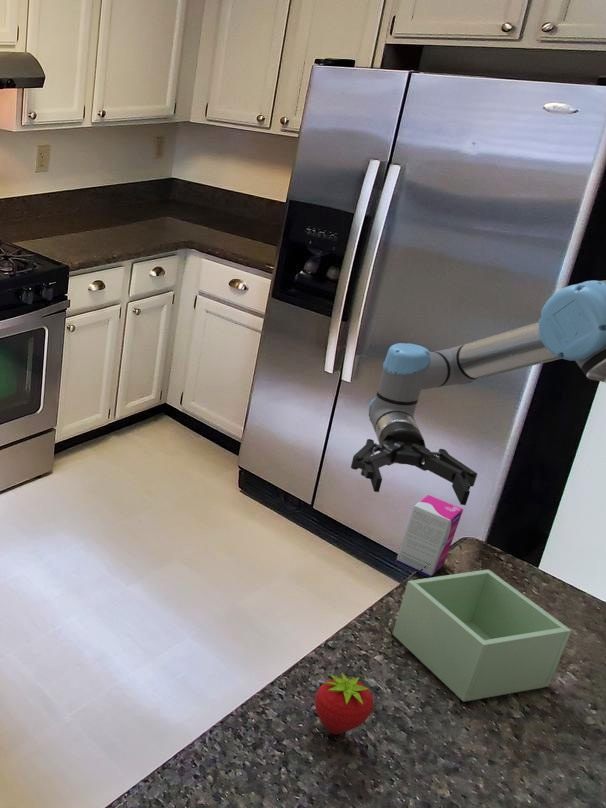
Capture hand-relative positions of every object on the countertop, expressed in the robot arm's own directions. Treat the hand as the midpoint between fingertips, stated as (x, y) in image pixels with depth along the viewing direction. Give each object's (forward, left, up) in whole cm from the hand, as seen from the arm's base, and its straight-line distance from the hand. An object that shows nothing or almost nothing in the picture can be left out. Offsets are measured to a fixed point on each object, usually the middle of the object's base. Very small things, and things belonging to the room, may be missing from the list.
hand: (421, 491), depth 139 cm
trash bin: (+15, +29, -9) cm, 34 cm away
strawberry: (+42, +37, -9) cm, 57 cm away
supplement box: (+5, +8, -9) cm, 13 cm away
